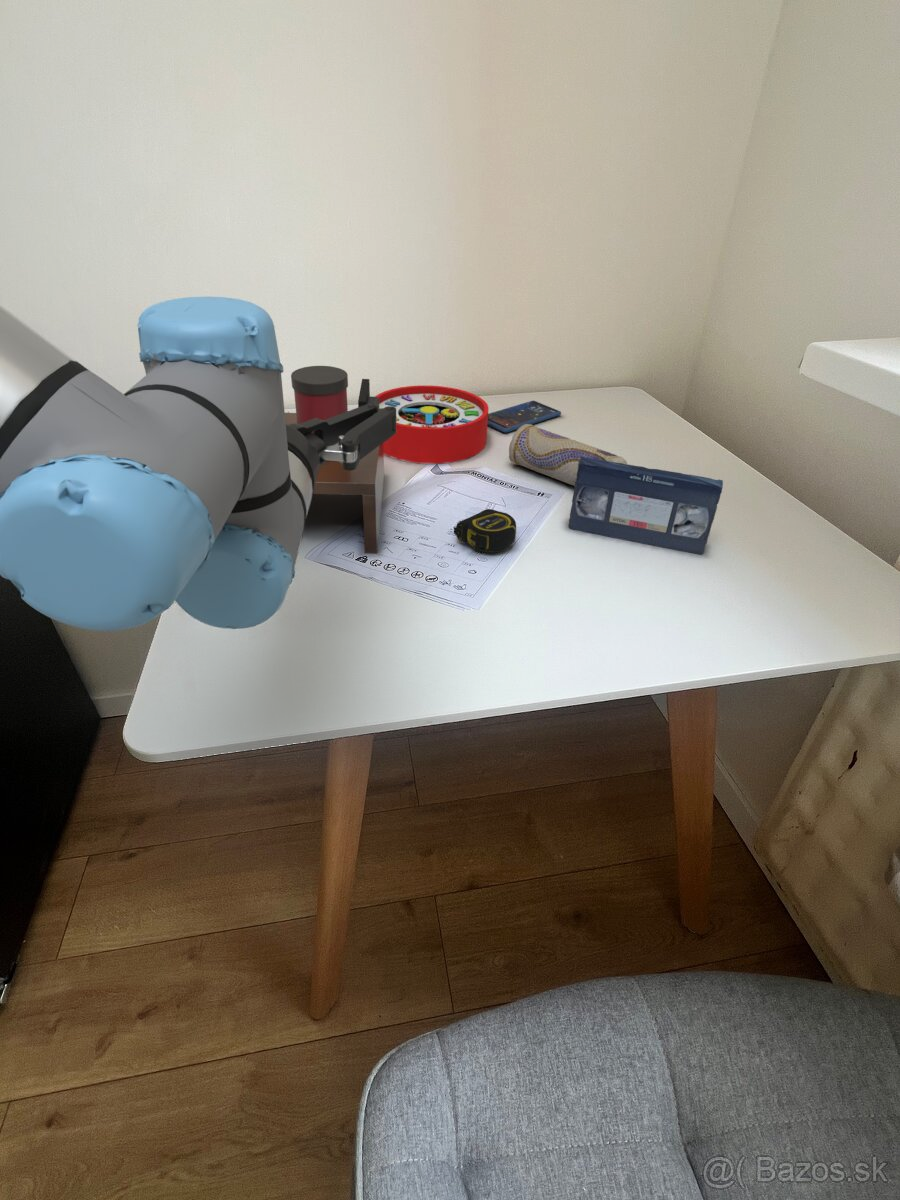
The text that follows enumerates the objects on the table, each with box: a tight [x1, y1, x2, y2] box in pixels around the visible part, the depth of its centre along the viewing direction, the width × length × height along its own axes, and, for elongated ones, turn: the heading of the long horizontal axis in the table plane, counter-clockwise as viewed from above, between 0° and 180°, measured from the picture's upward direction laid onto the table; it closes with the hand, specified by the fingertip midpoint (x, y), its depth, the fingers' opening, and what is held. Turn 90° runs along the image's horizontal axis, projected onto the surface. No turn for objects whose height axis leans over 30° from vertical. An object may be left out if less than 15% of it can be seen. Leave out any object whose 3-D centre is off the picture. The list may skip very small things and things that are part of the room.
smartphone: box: [487, 400, 562, 433], centre depth 129 cm, size 8×1×15 cm
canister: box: [290, 365, 349, 461], centre depth 88 cm, size 7×7×10 cm
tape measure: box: [453, 508, 517, 553], centre depth 92 cm, size 7×7×4 cm
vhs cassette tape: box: [568, 457, 724, 555], centre depth 93 cm, size 18×3×10 cm, turn 70°
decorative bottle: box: [508, 424, 639, 487], centre depth 105 cm, size 26×8×7 cm, turn 50°
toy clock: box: [374, 384, 489, 465], centre depth 118 cm, size 20×6×20 cm
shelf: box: [285, 412, 385, 554], centre depth 95 cm, size 18×22×10 cm
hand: (300, 389), depth 73 cm, fingers open, 13 cm apart
